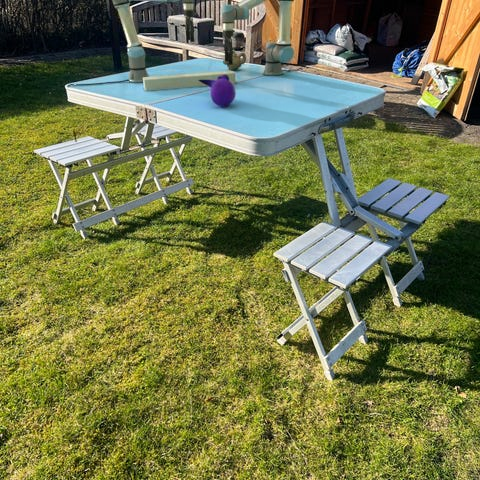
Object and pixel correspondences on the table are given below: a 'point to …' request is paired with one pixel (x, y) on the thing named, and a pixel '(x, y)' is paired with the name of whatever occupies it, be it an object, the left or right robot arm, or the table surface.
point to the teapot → (236, 61)
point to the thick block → (183, 80)
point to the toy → (221, 90)
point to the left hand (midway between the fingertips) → (190, 41)
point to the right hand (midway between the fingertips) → (228, 62)
